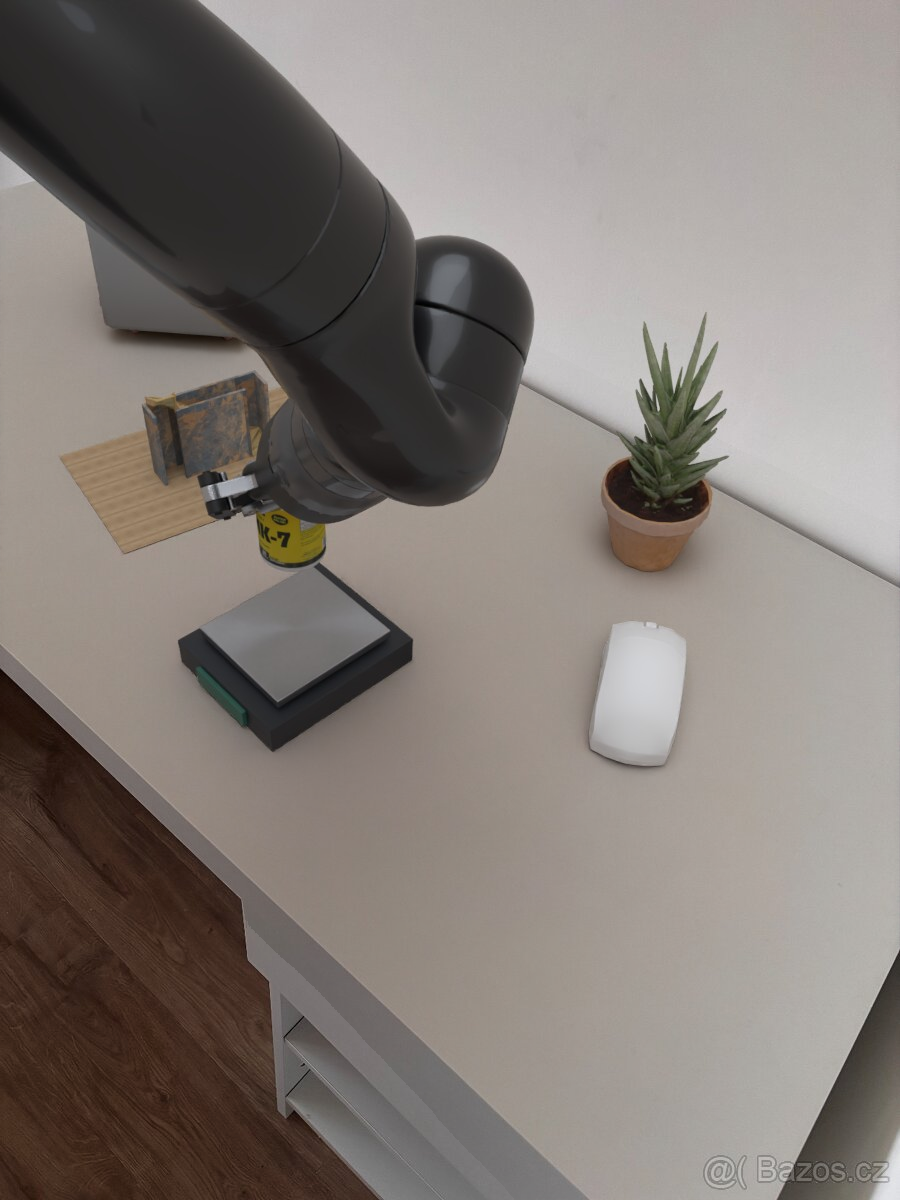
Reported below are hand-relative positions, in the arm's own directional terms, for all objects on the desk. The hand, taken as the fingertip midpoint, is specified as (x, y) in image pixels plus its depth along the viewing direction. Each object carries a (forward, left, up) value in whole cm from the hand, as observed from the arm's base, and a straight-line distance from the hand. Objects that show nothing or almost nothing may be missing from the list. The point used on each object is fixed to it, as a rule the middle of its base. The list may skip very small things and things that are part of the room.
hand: (280, 492), depth 74 cm
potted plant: (+32, -11, -17) cm, 37 cm away
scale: (0, -1, -16) cm, 16 cm away
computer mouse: (+17, -22, -17) cm, 32 cm away
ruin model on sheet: (+10, +25, -17) cm, 31 cm away
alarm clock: (+25, +51, -17) cm, 59 cm away
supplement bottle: (-1, -2, -4) cm, 5 cm away
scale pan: (0, -1, -13) cm, 14 cm away
